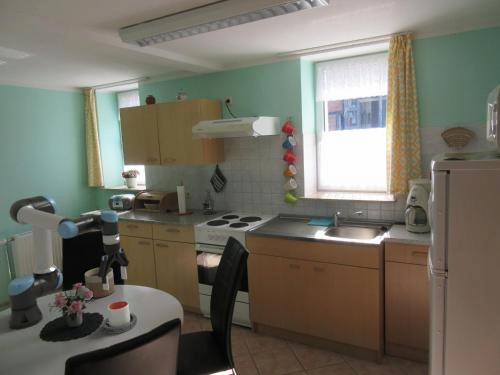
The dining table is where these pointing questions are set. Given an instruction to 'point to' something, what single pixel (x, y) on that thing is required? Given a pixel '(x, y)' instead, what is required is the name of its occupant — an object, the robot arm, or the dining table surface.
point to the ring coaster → (115, 330)
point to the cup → (118, 314)
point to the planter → (99, 283)
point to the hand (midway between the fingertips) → (115, 284)
